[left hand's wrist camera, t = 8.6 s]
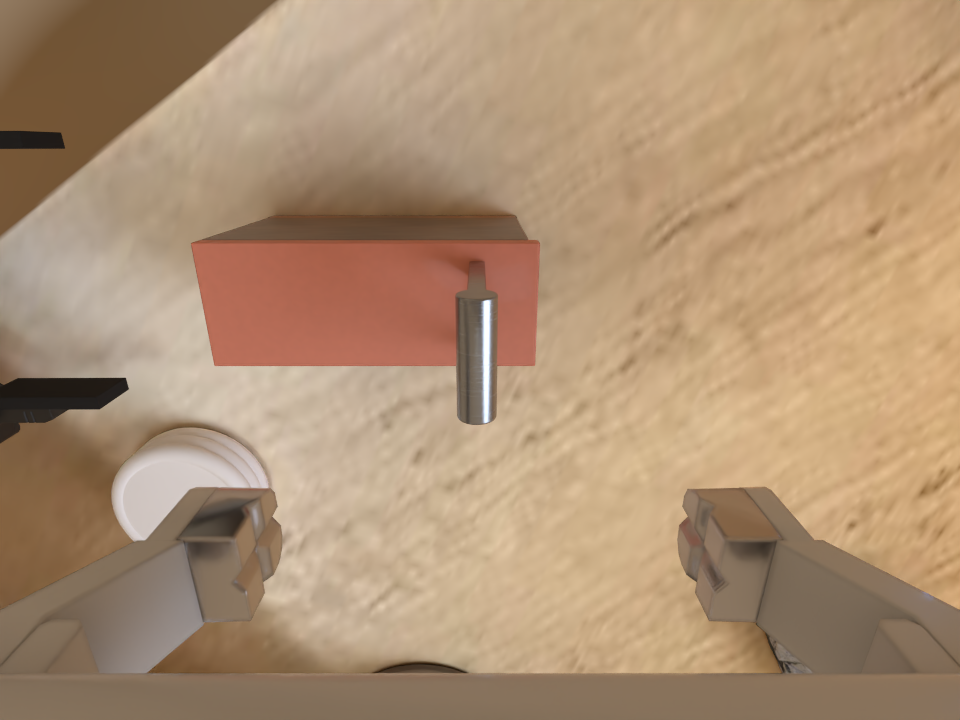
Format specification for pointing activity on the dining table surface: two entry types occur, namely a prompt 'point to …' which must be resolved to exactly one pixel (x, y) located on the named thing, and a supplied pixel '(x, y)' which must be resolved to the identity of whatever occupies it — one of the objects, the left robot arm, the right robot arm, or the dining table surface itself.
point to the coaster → (178, 475)
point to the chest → (378, 228)
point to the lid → (375, 306)
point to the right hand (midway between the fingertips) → (82, 277)
